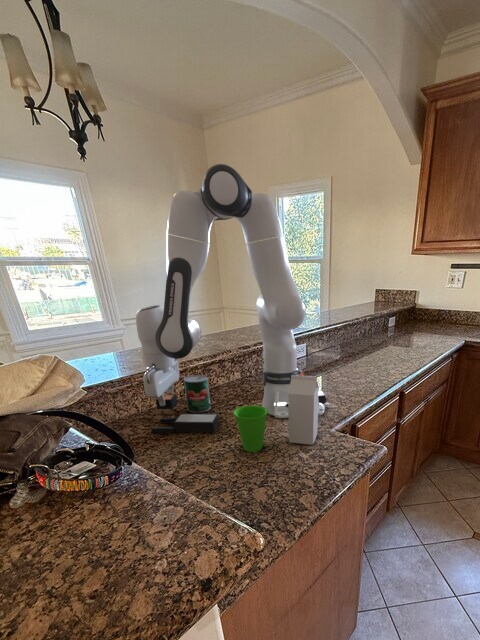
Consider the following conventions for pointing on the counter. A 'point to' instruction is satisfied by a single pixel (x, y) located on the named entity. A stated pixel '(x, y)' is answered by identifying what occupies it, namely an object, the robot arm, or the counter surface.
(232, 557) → the counter surface
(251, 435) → the cup
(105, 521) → the counter surface
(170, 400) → the orange topped grey block
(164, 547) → the counter surface
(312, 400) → the milk carton
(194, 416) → the dark grey stepped block
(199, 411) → the canned tomato
